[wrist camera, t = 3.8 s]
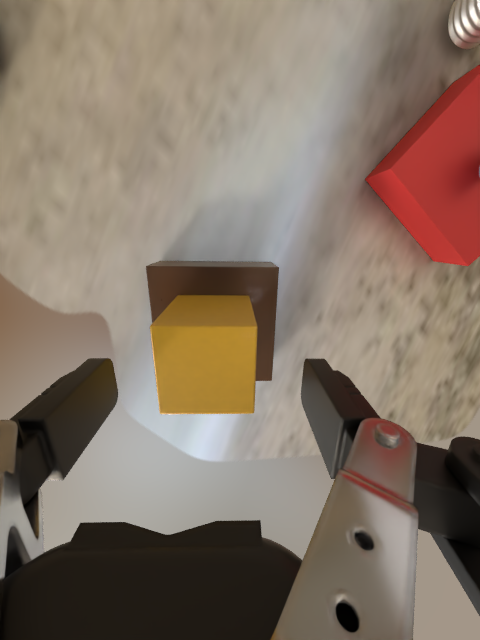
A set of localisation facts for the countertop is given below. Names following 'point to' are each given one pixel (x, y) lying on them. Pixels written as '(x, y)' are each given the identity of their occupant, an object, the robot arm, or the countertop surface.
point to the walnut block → (222, 280)
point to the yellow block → (205, 355)
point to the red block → (439, 175)
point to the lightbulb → (465, 23)
